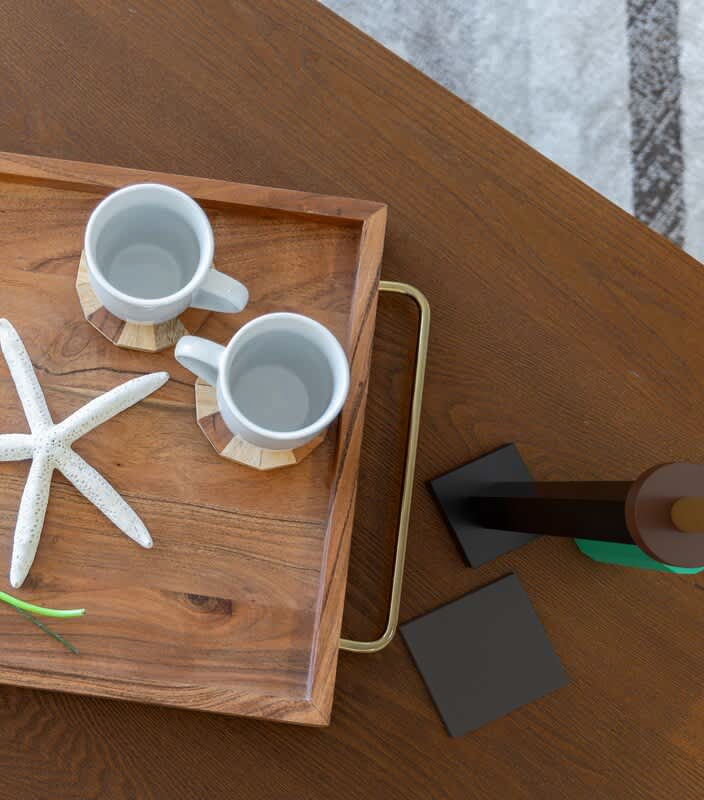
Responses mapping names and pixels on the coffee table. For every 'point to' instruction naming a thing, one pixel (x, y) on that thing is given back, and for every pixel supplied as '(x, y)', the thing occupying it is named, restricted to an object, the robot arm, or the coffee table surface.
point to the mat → (483, 655)
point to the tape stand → (570, 509)
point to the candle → (626, 556)
